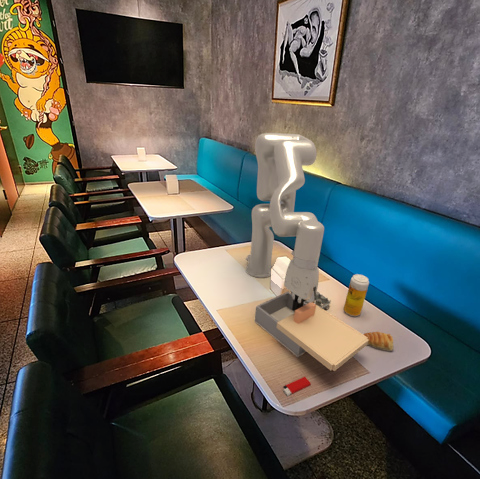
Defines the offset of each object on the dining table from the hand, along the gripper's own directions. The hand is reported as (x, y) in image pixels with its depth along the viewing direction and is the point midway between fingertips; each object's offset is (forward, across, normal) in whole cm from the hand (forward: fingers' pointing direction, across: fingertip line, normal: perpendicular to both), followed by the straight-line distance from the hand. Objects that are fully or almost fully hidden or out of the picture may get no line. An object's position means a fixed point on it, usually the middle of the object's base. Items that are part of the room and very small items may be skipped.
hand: (296, 309), depth 99 cm
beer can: (+9, +6, +26) cm, 28 cm away
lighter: (+10, +16, -16) cm, 25 cm away
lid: (+3, +11, 0) cm, 11 cm away
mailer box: (+9, -1, 0) cm, 9 cm away
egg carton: (+9, -4, +17) cm, 20 cm away
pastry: (+9, +21, +19) cm, 29 cm away
